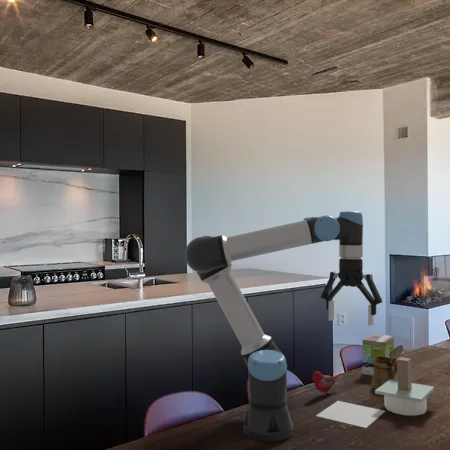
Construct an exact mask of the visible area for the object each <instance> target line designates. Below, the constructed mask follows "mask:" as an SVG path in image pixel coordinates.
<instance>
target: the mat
mask: <svg viewBox="0 0 450 450" xmlns="http://www.w3.org/2000/svg"><path fill="white" fill-rule="evenodd" d="M385 412H386V410H383V409H378V408H374V407H370V406H369V407H368V406H364V405H359V404H355V403H351V402H345V401H341V400H336V401H335V402H334V403H332V404H331V405H329V406H328V407H327V408H325V409H323V410H322V411H321V412H319V413H318V414H316V415H315V416H316V417H317V418H318V417H319V418H323V419H327V420H332V421H335V422H340V423H344V424H348V425H352V426H357V427H361V428H365V429H367V428H368V427H369V426H370V425H372V423H374V422H375V421H376V420H377V419H378V418H380V416H382V415H383V414H384V413H385Z"/></svg>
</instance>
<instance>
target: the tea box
mask: <svg viewBox="0 0 450 450" xmlns="http://www.w3.org/2000/svg"><path fill="white" fill-rule="evenodd" d="M394 339H395V337H394V336H393V335H385V334H376V333H371V334H369V335H368V336H366V337H365V338H363V339H362V375H365V376H366V375H367V376H372V377H373V372H374V361H375V357H378V356H385V357H389V358H390V356H389V355H390V353H391V352H392V351H393V350H394V349H395V347H394V345H395V340H394ZM393 370H394V368H393Z"/></svg>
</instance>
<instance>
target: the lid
mask: <svg viewBox="0 0 450 450" xmlns="http://www.w3.org/2000/svg"><path fill="white" fill-rule="evenodd" d="M396 361H397V374H396V375H397V380H396V379H394V380H392V379H390V380H388V381H387V382H386V383H384V384H383V385H382V386H380V387H379V388H378V389H374V394H376V395H381V396H384V395H385V396H391V397H396V398H401V399H406V400H411V401H416V402H422V401H423V400H424V399H425V398H428V397H429V396H430V395H431V394H432V392H434V390H435V386H432V385H425V384H420V383H413V382H412V358H408V357H403V356H402V357H397V358H396Z"/></svg>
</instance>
